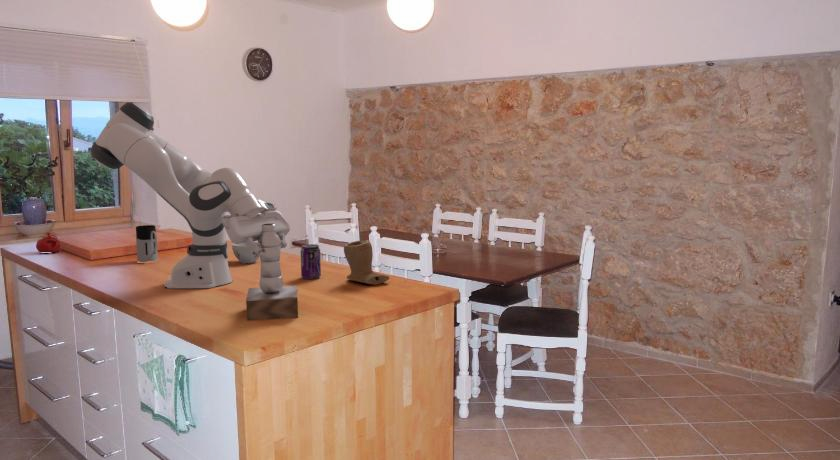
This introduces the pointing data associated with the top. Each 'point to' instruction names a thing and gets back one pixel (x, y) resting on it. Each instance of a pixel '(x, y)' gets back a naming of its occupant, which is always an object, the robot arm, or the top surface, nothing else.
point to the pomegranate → (48, 244)
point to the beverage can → (310, 261)
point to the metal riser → (272, 304)
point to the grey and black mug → (146, 243)
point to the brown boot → (362, 263)
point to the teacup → (245, 253)
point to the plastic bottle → (270, 260)
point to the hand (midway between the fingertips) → (272, 249)
